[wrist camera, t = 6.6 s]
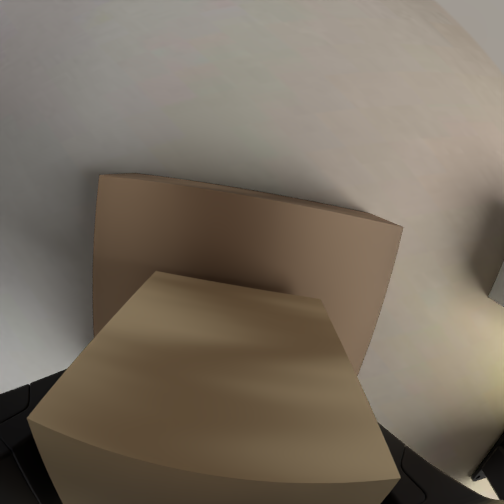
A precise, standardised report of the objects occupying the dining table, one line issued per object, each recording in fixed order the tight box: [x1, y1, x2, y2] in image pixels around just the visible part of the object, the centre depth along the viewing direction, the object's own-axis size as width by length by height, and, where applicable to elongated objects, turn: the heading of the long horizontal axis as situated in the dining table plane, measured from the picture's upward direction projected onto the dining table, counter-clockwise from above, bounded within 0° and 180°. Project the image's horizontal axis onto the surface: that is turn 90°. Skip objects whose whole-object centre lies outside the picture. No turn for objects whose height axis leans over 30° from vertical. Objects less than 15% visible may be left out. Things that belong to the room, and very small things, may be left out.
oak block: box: [27, 271, 401, 504], centre depth 6 cm, size 4×4×6 cm
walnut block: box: [93, 173, 403, 376], centre depth 11 cm, size 9×9×3 cm
